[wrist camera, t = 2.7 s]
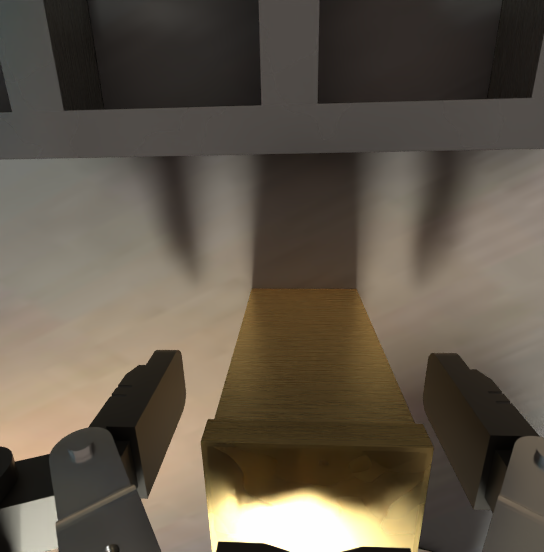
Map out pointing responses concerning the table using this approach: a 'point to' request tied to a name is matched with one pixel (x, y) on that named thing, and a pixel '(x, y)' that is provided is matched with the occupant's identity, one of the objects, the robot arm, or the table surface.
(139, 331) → the table surface
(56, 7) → the grey compartment tray
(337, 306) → the golden rectangular block
